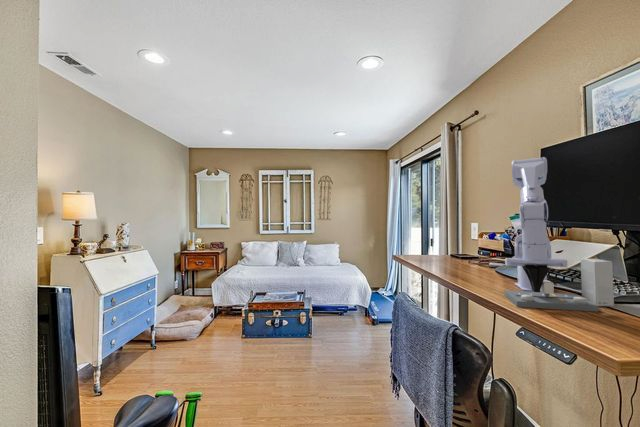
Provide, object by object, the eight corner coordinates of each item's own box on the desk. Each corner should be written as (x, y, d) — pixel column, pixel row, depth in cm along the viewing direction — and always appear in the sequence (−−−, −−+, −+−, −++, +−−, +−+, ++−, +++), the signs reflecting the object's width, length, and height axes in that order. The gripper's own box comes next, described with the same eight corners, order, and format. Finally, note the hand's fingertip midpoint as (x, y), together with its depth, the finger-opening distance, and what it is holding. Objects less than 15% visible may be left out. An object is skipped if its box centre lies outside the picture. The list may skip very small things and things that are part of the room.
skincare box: (615, 306, 78) (613, 261, 78) (596, 306, 79) (594, 261, 79) (598, 300, 84) (596, 258, 84) (581, 299, 85) (579, 258, 85)
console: (504, 295, 92) (504, 286, 92) (574, 298, 86) (574, 289, 87) (517, 306, 81) (516, 296, 81) (598, 311, 75) (598, 300, 75)
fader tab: (540, 294, 85) (539, 280, 85) (549, 295, 85) (548, 280, 85) (544, 297, 82) (544, 282, 82) (554, 298, 82) (553, 283, 82)
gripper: (509, 245, 83) (511, 293, 83) (572, 245, 78) (574, 296, 78) (502, 242, 90) (504, 287, 90) (559, 242, 85) (561, 289, 85)
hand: (536, 291), depth 84 cm, fingers closed
